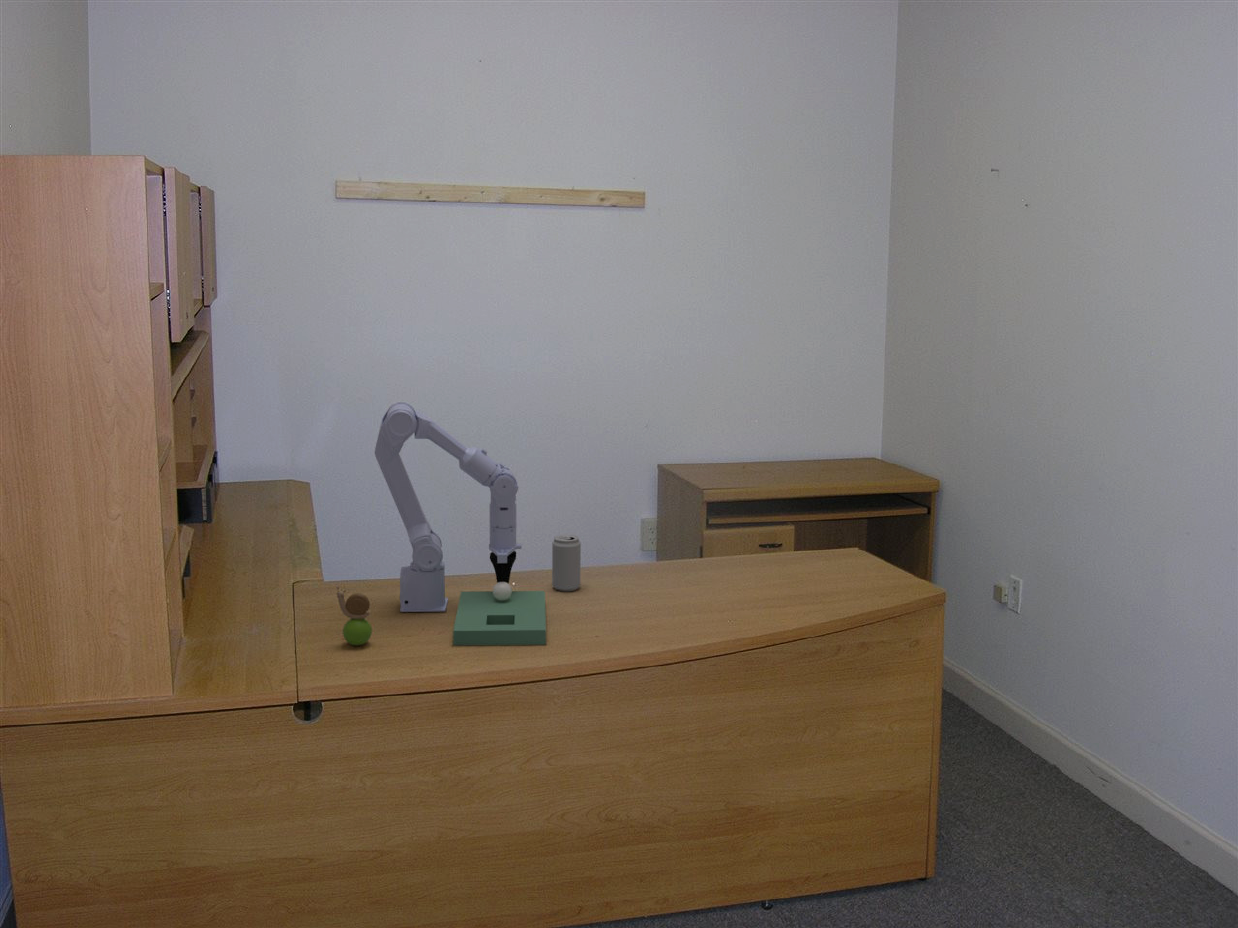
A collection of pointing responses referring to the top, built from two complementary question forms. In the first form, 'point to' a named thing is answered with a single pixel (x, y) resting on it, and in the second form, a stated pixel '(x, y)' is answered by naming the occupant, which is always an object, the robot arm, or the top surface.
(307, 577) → the top surface
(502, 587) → the ball
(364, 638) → the snail figurine
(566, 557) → the beverage can
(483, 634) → the putting board
